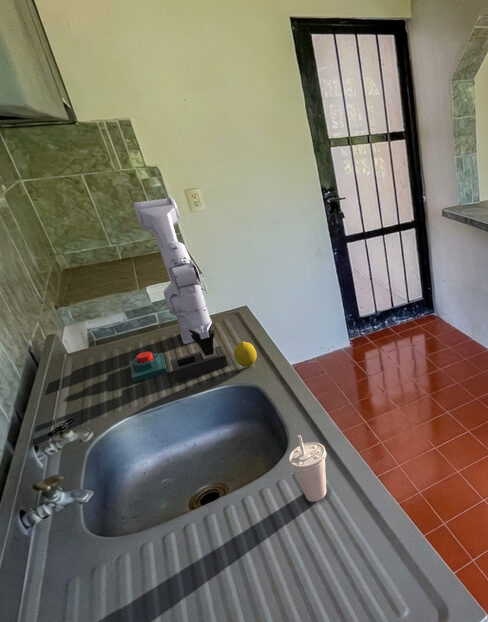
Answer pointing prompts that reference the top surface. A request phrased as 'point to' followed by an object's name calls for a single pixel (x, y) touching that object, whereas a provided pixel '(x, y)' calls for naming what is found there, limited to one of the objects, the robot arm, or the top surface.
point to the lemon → (245, 354)
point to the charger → (208, 355)
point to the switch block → (148, 368)
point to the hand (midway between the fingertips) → (208, 351)
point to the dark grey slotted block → (197, 364)
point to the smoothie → (310, 469)
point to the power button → (144, 357)
